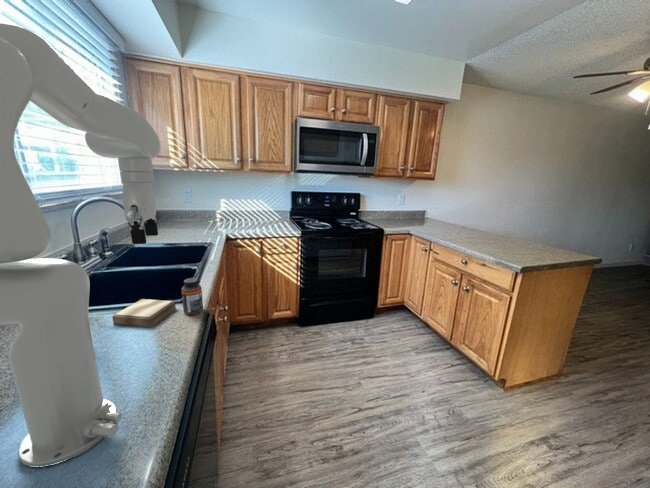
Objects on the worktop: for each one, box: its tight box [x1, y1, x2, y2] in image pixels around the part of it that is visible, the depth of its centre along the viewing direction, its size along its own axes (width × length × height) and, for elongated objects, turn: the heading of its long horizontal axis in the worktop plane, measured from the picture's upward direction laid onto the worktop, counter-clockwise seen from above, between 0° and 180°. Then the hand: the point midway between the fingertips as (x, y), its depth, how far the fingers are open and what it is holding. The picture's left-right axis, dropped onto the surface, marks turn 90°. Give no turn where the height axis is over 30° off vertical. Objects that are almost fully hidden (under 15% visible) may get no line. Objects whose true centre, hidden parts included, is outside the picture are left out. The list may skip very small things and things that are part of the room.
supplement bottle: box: [181, 277, 204, 316], centre depth 91 cm, size 6×6×11 cm
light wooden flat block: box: [112, 298, 177, 328], centre depth 88 cm, size 12×12×3 cm
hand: (146, 239), depth 79 cm, fingers open, 9 cm apart
